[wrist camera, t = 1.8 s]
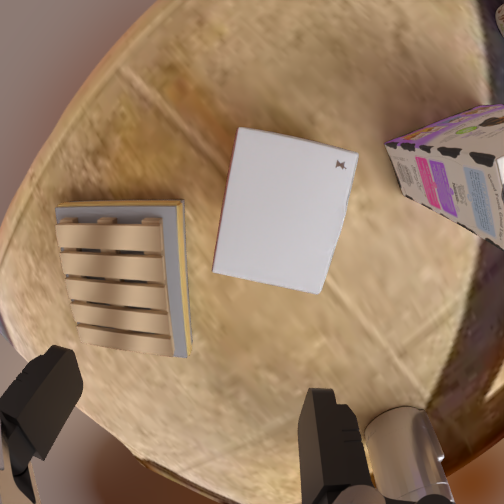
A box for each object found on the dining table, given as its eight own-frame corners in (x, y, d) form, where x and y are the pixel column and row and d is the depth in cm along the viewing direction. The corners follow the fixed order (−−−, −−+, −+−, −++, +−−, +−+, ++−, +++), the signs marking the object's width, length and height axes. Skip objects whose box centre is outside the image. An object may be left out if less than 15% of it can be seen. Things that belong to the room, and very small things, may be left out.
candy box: (402, 198, 28) (510, 263, 12) (381, 141, 26) (493, 155, 11) (498, 154, 25) (611, 183, 10) (483, 102, 23) (600, 104, 8)
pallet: (164, 217, 26) (158, 222, 25) (176, 349, 31) (173, 359, 30) (63, 217, 27) (54, 221, 25) (87, 336, 32) (81, 344, 30)
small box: (251, 129, 26) (236, 122, 14) (321, 145, 27) (363, 152, 14) (234, 216, 29) (209, 275, 17) (301, 230, 29) (322, 297, 17)
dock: (186, 197, 29) (177, 204, 26) (194, 341, 34) (188, 358, 32) (70, 199, 29) (54, 205, 27) (93, 329, 35) (82, 342, 32)
